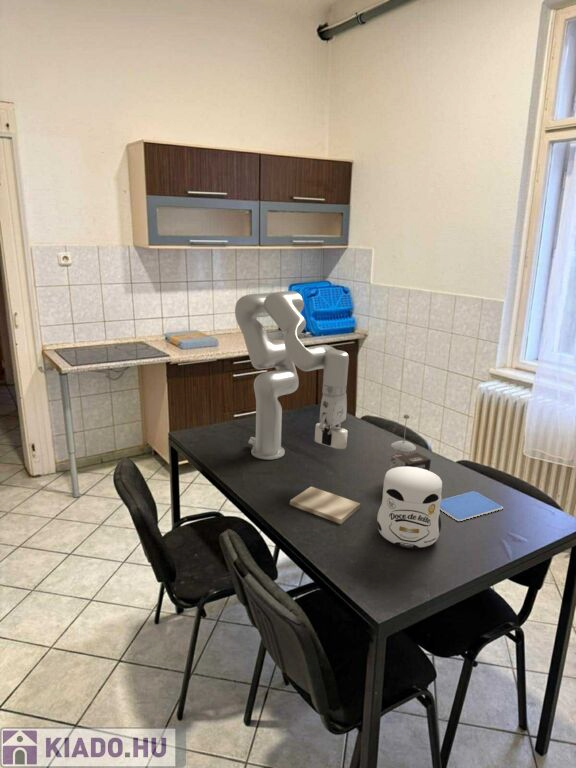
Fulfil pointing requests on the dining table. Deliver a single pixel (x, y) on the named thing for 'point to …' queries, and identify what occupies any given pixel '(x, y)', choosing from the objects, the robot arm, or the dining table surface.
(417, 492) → the doce de leite jar
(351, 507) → the birch board
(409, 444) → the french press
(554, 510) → the dining table surface
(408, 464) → the coffee box
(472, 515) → the blue flat pad
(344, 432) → the rounded block
